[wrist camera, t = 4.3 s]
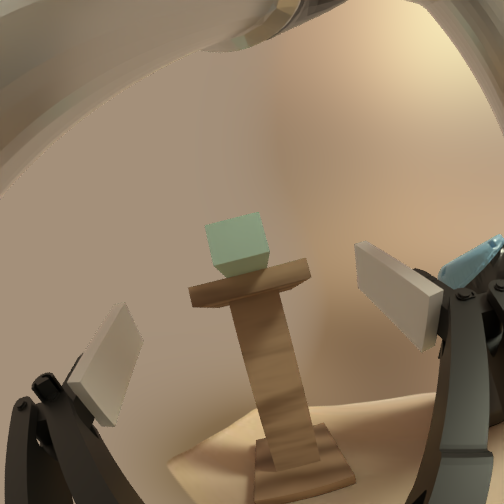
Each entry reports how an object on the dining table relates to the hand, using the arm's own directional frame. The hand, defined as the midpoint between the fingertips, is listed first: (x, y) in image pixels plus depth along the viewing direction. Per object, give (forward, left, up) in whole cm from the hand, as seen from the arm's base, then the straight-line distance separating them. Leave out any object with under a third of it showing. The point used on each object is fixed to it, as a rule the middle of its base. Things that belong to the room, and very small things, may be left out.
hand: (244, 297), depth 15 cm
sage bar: (-11, -9, +3) cm, 14 cm away
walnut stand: (-16, -13, -25) cm, 33 cm away
